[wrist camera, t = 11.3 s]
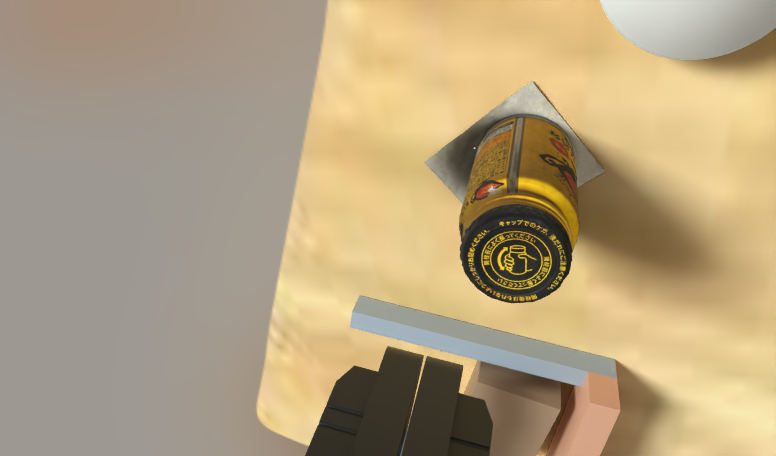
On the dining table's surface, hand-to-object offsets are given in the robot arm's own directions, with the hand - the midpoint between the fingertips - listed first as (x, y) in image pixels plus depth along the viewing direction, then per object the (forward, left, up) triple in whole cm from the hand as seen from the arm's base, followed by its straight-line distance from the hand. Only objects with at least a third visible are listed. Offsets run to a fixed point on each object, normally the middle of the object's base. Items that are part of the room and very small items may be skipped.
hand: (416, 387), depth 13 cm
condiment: (-2, +8, -29) cm, 30 cm away
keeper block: (-6, +27, -29) cm, 40 cm away
